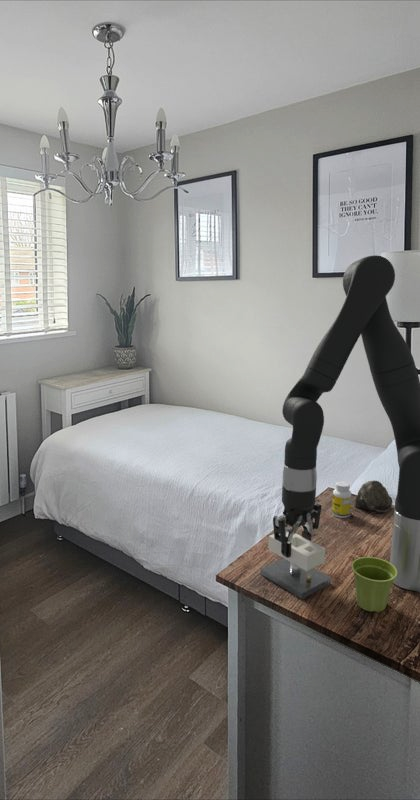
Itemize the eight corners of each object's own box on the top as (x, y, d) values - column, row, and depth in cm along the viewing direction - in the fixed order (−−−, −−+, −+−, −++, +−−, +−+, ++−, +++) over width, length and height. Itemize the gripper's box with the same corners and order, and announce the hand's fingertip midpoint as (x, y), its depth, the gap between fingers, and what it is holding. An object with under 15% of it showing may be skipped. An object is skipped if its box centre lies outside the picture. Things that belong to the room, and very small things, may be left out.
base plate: (331, 583, 121) (332, 565, 120) (301, 599, 115) (302, 581, 114) (289, 560, 131) (290, 544, 130) (260, 574, 125) (261, 557, 124)
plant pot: (402, 604, 113) (405, 568, 111) (380, 624, 107) (383, 586, 105) (363, 586, 120) (365, 552, 118) (340, 604, 113) (343, 567, 111)
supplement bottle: (328, 511, 158) (329, 481, 156) (344, 509, 160) (346, 479, 158) (337, 519, 153) (339, 488, 151) (353, 517, 155) (356, 486, 152)
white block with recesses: (268, 549, 124) (268, 536, 124) (285, 541, 128) (286, 528, 127) (306, 571, 115) (307, 556, 115) (324, 562, 119) (325, 548, 118)
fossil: (384, 517, 153) (370, 485, 154) (356, 522, 159) (343, 492, 160) (397, 504, 161) (384, 474, 162) (371, 509, 168) (358, 480, 168)
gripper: (307, 471, 125) (304, 536, 129) (264, 486, 116) (262, 554, 120) (333, 481, 119) (328, 548, 123) (289, 497, 110) (286, 568, 114)
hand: (296, 551), depth 121 cm, fingers closed on white block with recesses, 6 cm apart
